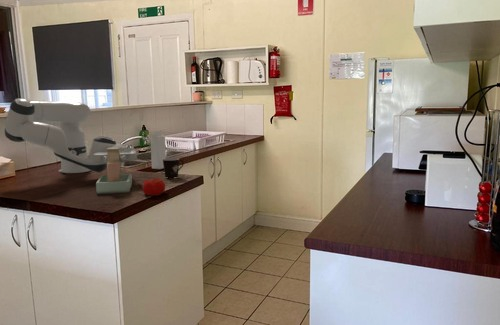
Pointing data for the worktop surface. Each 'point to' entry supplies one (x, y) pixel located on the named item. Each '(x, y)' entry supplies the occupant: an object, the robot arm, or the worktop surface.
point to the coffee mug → (171, 167)
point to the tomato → (153, 187)
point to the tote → (114, 184)
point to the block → (114, 156)
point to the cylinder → (113, 171)
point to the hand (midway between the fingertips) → (113, 159)
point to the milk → (158, 150)
